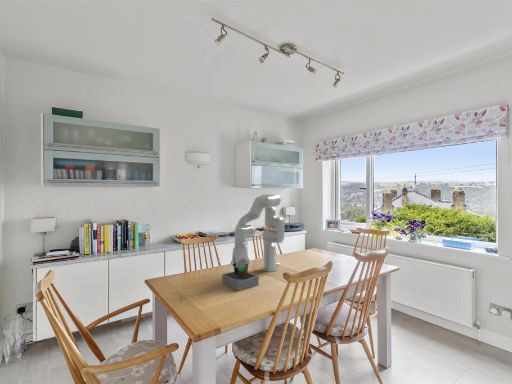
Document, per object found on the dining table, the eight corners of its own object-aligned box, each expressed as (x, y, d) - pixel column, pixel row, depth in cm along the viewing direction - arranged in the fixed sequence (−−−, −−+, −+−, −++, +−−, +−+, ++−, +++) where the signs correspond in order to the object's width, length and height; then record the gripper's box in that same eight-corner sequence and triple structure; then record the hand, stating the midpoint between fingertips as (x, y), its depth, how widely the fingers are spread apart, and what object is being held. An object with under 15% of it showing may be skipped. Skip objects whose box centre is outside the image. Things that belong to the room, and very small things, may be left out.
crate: (241, 278, 197) (241, 269, 197) (258, 285, 183) (258, 276, 183) (222, 283, 186) (222, 274, 186) (238, 291, 172) (238, 281, 172)
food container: (228, 274, 184) (229, 259, 184) (233, 272, 189) (234, 257, 189) (244, 277, 178) (244, 262, 178) (249, 275, 183) (249, 260, 183)
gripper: (246, 243, 192) (246, 268, 193) (226, 246, 181) (226, 273, 181) (253, 244, 187) (253, 270, 187) (233, 248, 175) (233, 276, 176)
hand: (240, 271), depth 184 cm, fingers closed on food container, 6 cm apart
